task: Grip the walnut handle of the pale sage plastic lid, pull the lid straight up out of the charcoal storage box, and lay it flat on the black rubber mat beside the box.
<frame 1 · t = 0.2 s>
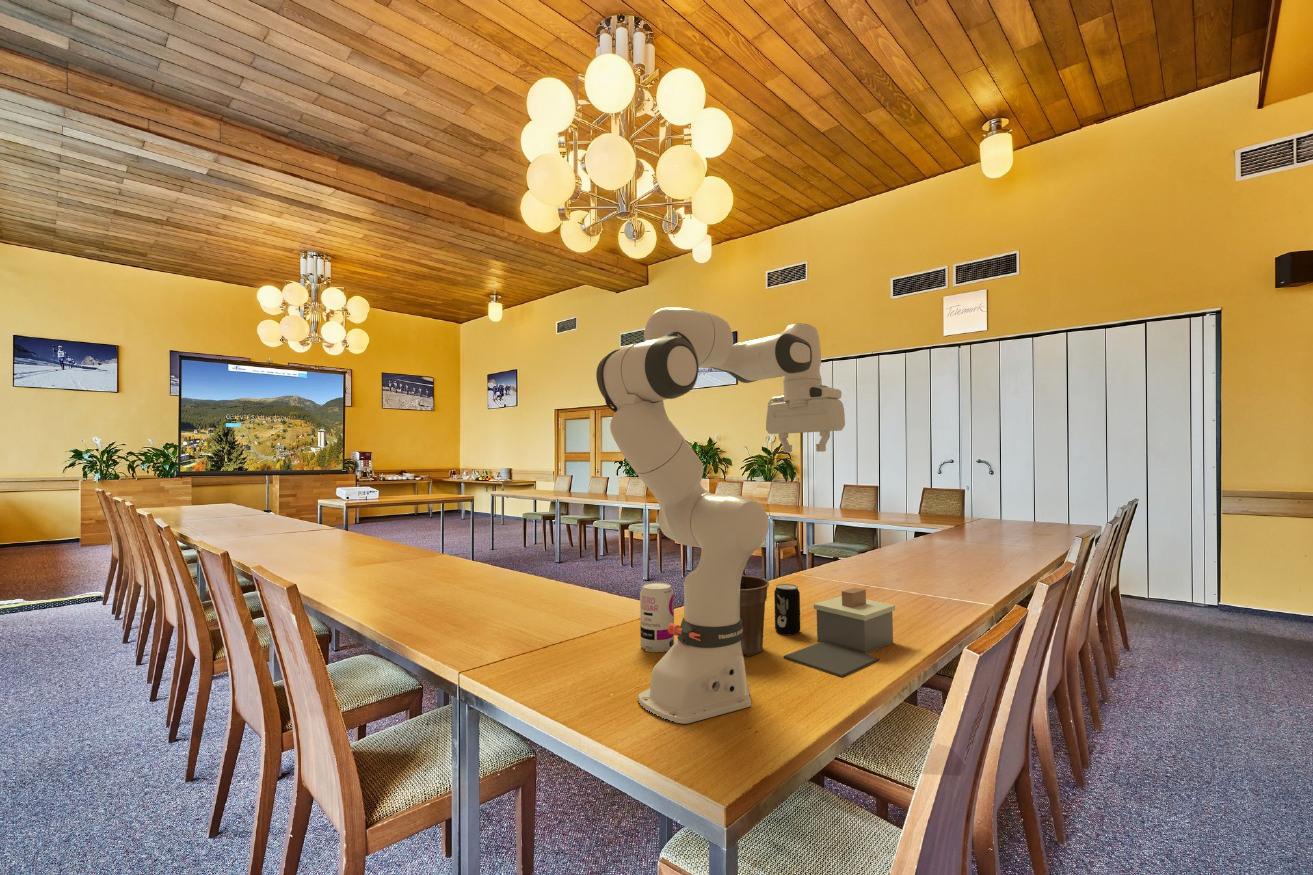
hand: (803, 451, 132), 47 cm above the table, tool pointing down, fingers open, 8 cm apart
beverage can: (787, 632, 148), on the table
rubber mat: (830, 659, 127), on the table
plant pot: (736, 649, 135), on the table
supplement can: (657, 648, 136), on the table
storage box: (854, 641, 139), on the table
lid: (854, 613, 139), point 7 cm above the table, touching storage box
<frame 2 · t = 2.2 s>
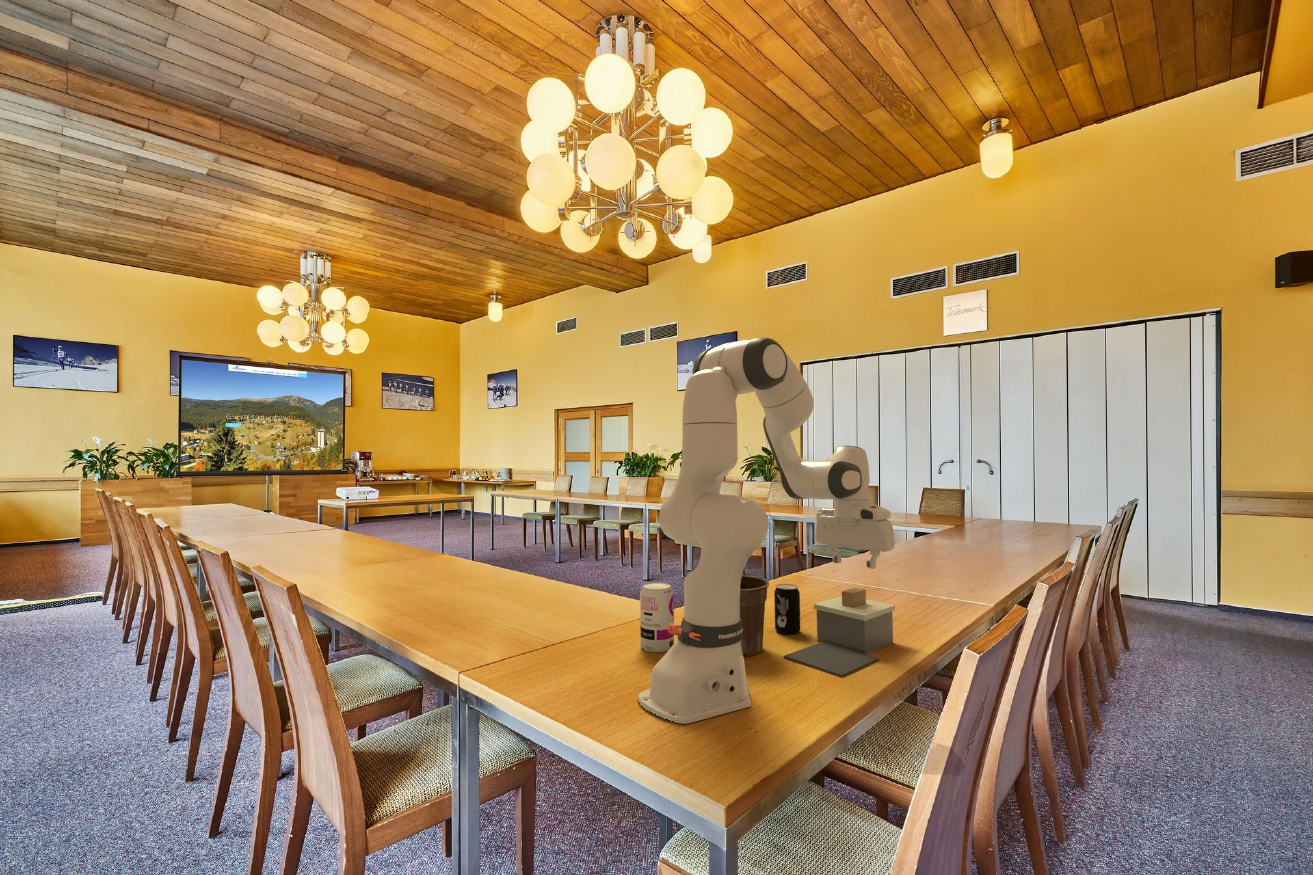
hand: (853, 565, 140), 19 cm above the table, tool pointing down, fingers open, 8 cm apart
nothing on the table moved.
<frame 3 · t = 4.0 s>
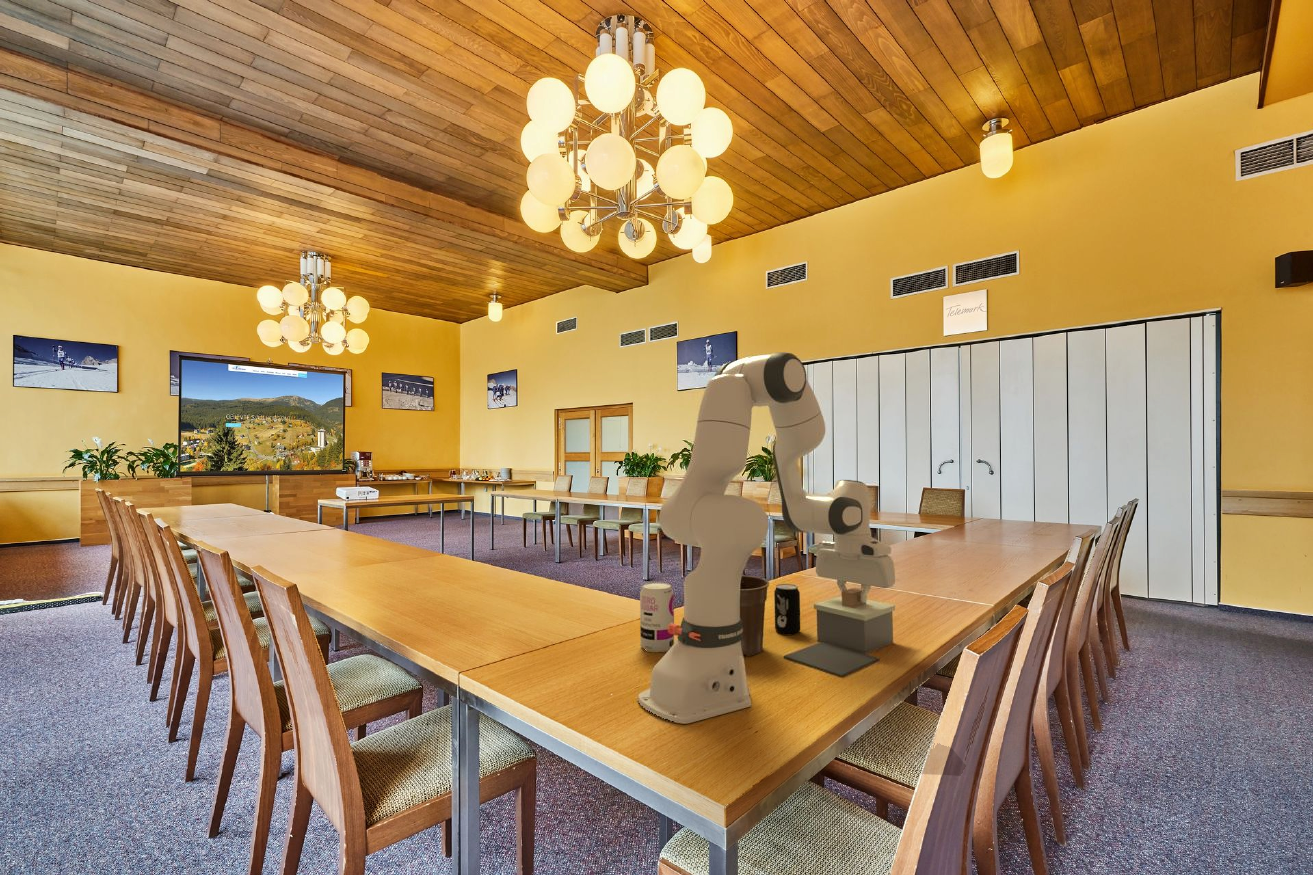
hand: (853, 600, 140), 10 cm above the table, tool pointing down, fingers closed on lid, 3 cm apart
lid: (854, 613, 139), point 7 cm above the table, touching gripper, storage box
everything else where it was.
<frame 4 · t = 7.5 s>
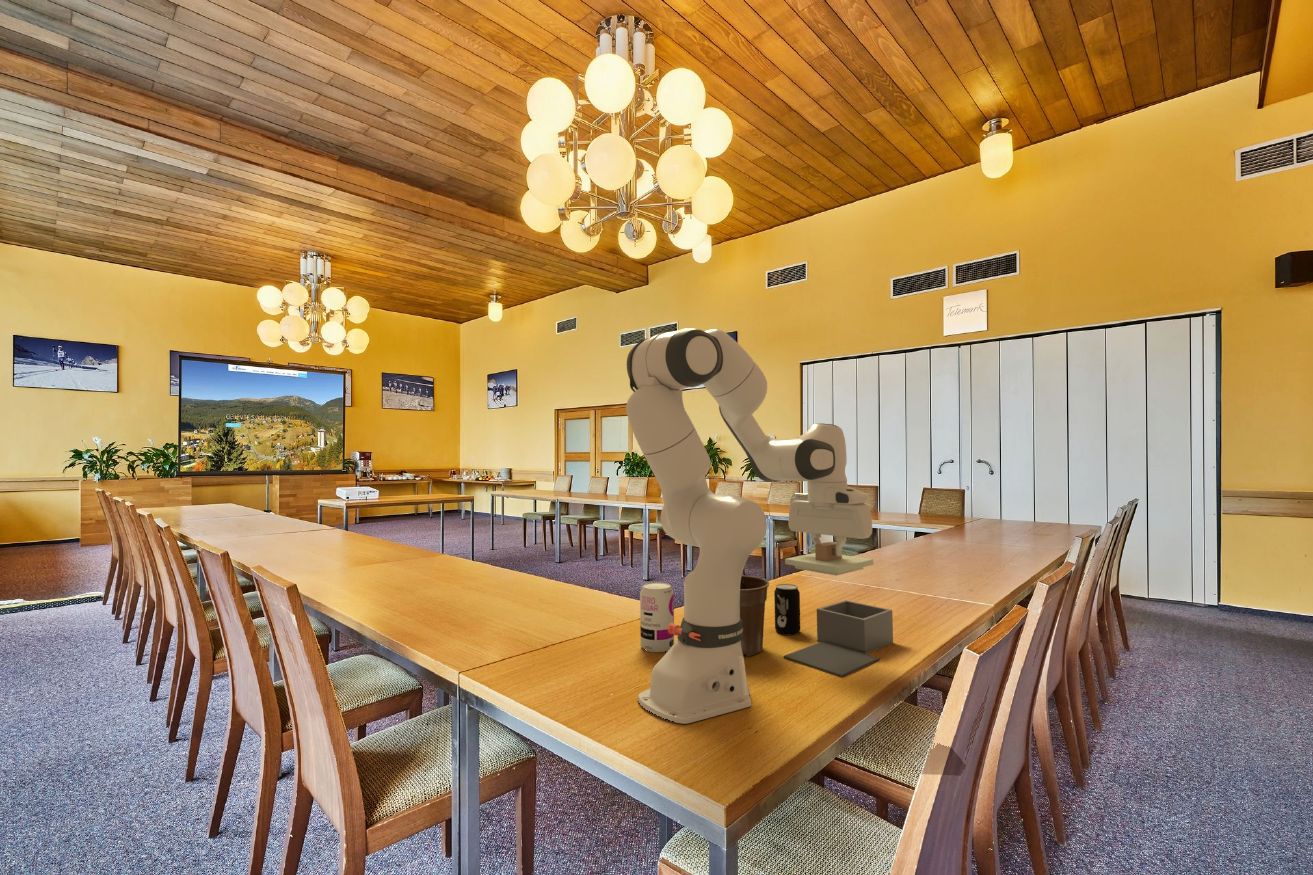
hand: (828, 554, 128), 24 cm above the table, tool pointing down, fingers closed on lid, 3 cm apart
lid: (829, 568, 128), point 20 cm above the table, touching gripper
everything else where it was.
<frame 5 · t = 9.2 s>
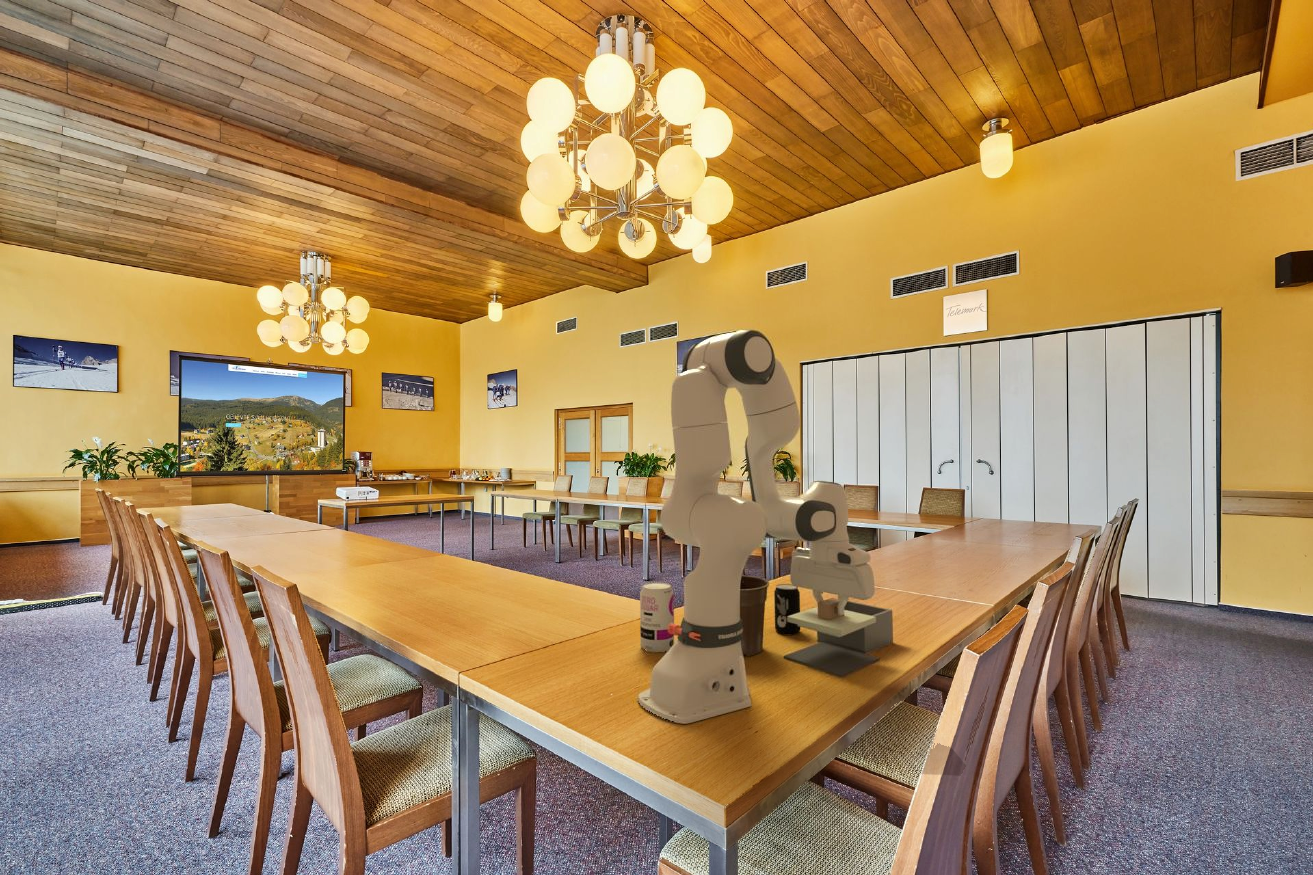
hand: (830, 612, 128), 11 cm above the table, tool pointing down, fingers closed on lid, 3 cm apart
lid: (831, 626, 128), point 7 cm above the table, touching gripper
everything else where it was.
when the fingers open (5 cm above the table, at t = 10.8 s): lid drops 2 cm, resting on rubber mat.
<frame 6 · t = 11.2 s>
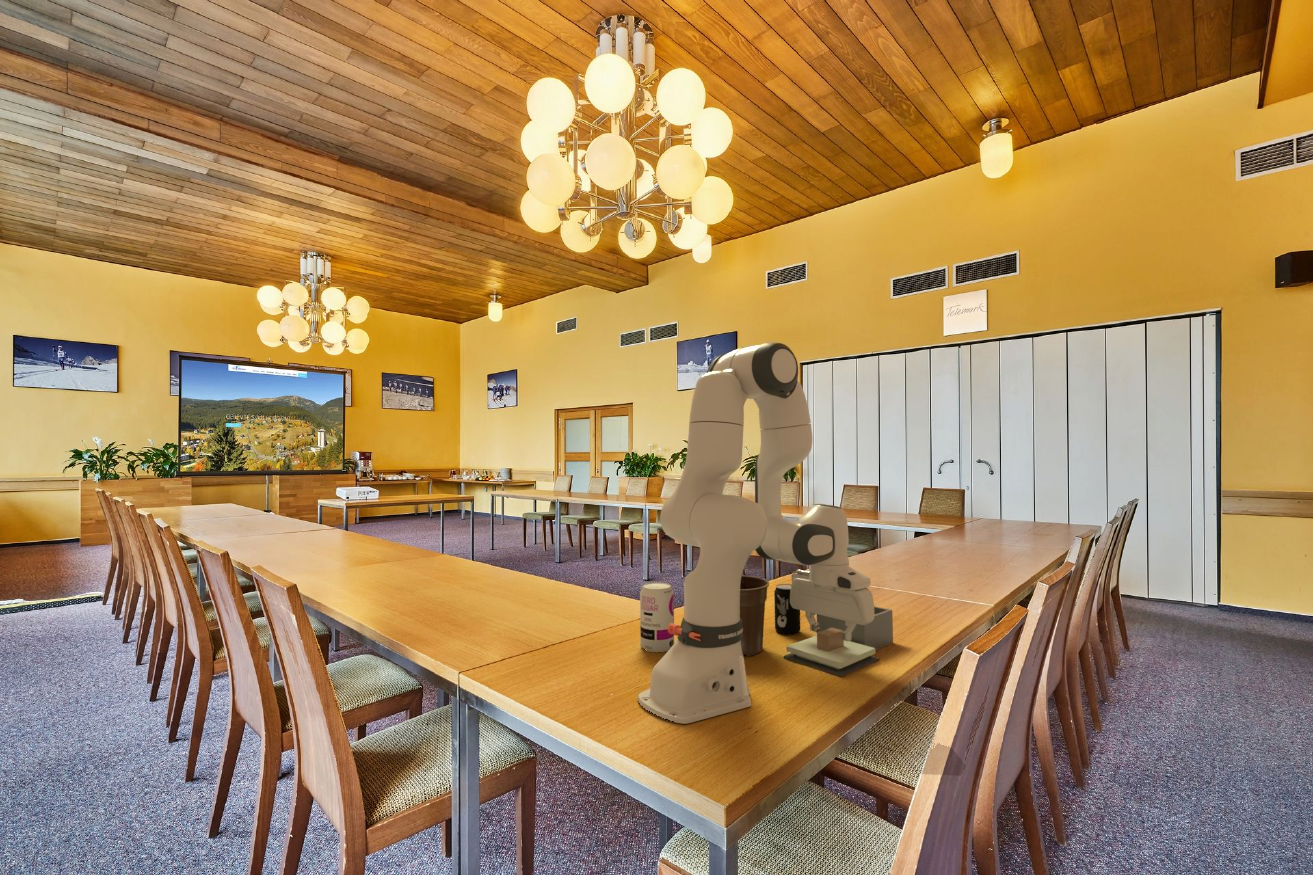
hand: (830, 635, 128), 5 cm above the table, tool pointing down, fingers open, 7 cm apart
lid: (830, 656, 127), resting on rubber mat
everything else where it was.
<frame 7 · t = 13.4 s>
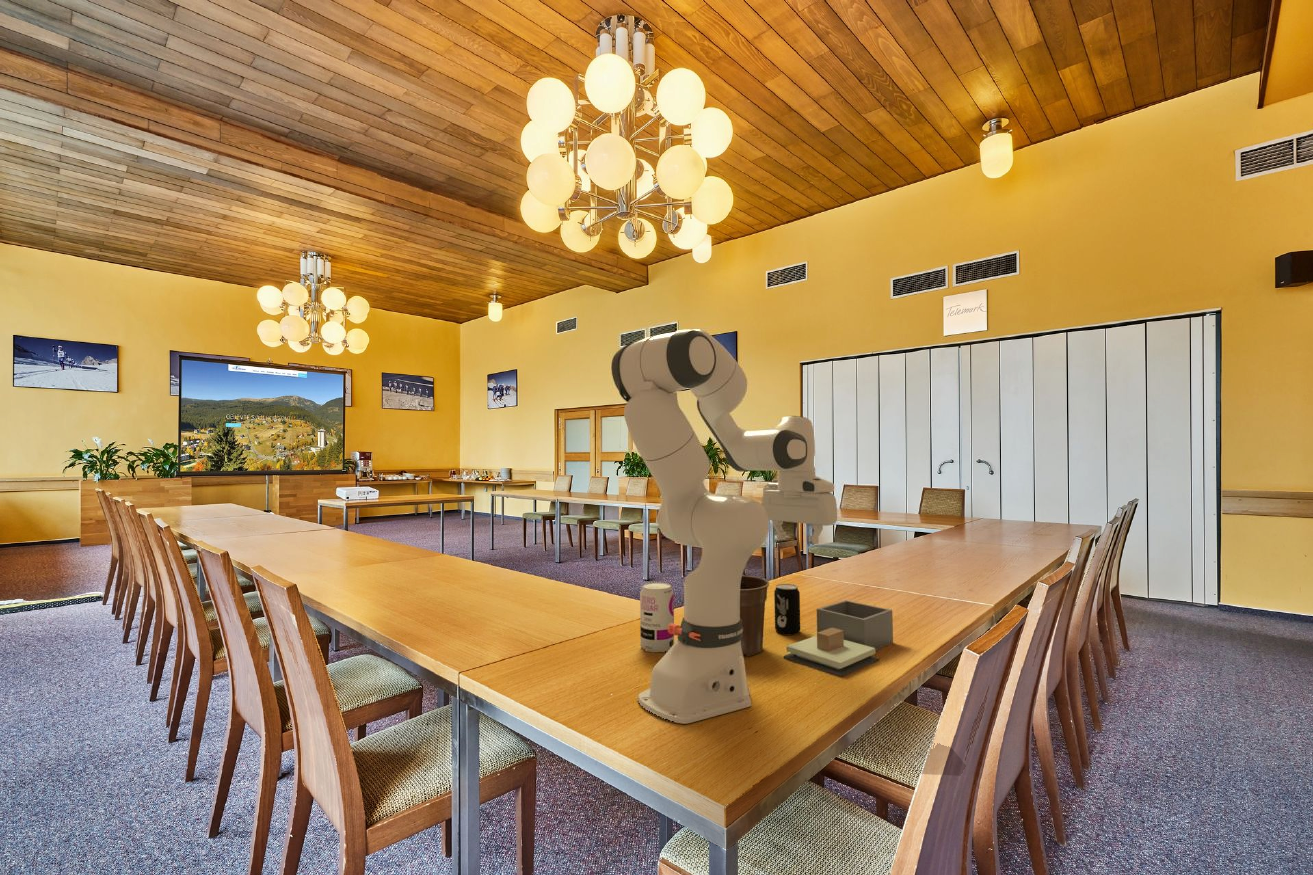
hand: (797, 541, 134), 26 cm above the table, tool pointing down, fingers open, 8 cm apart
nothing on the table moved.
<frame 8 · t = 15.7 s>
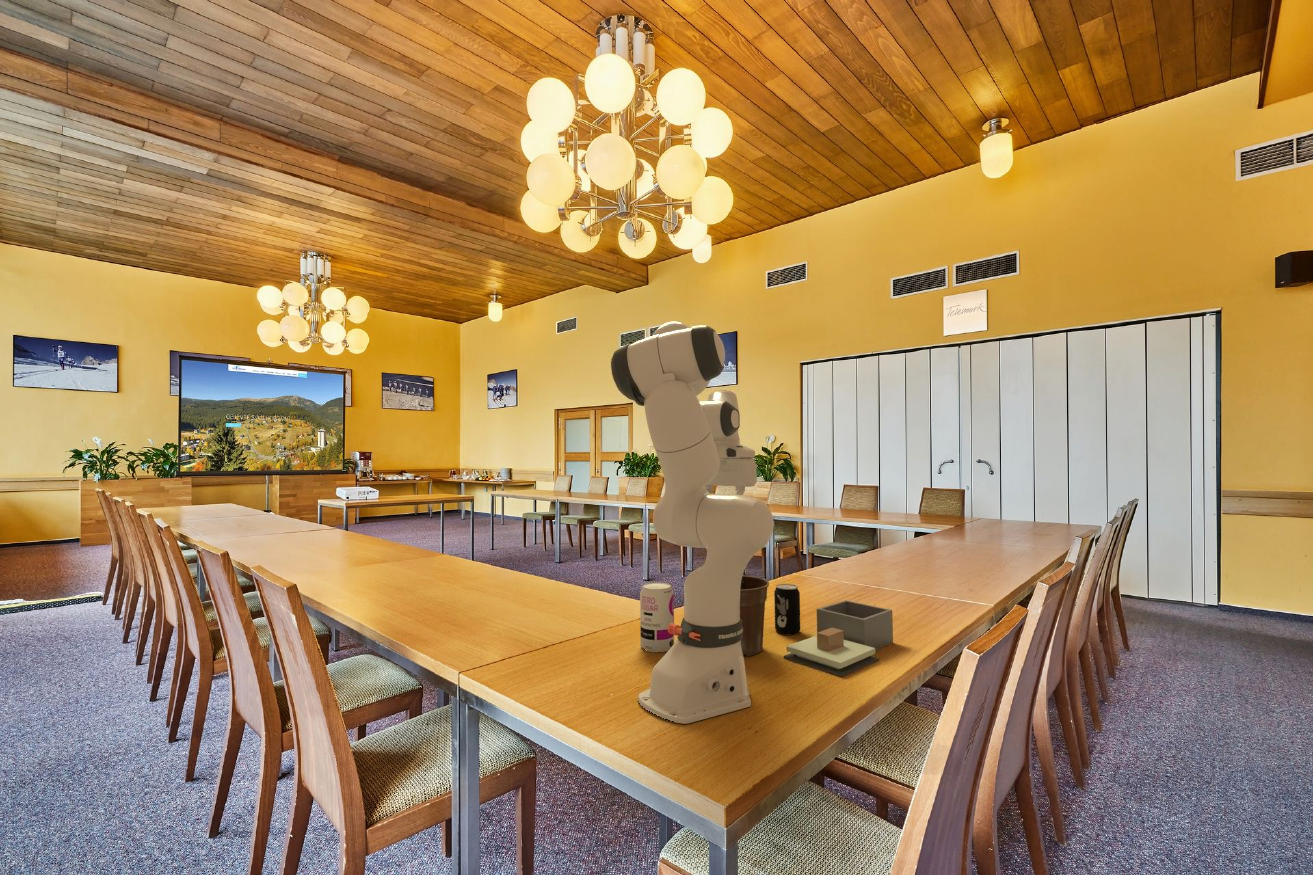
hand: (724, 502, 150), 34 cm above the table, tool pointing down, fingers open, 8 cm apart
nothing on the table moved.
at the end: lid inside the target area on the rubber mat (0.0 cm from its centre), point 0.5 cm above the rubber mat's base; lid tilted 0°; lid touching rubber mat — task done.
